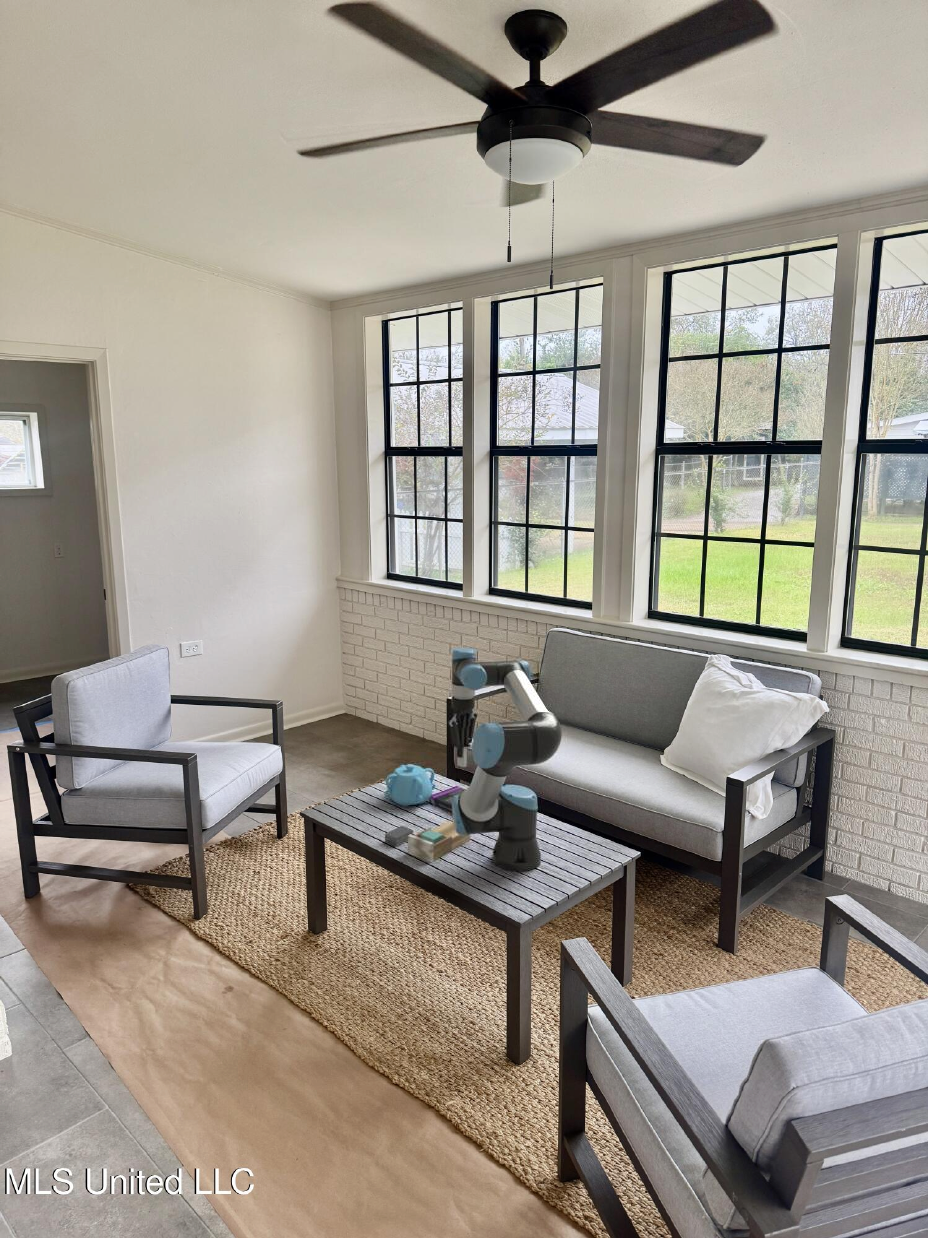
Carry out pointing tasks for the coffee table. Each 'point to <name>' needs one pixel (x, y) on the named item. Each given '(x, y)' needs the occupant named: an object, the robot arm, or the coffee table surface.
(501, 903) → the coffee table surface
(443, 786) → the coffee table surface
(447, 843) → the drawer
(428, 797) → the decorative pot
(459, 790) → the box
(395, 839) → the dark grey block
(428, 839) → the block
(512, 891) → the coffee table surface
